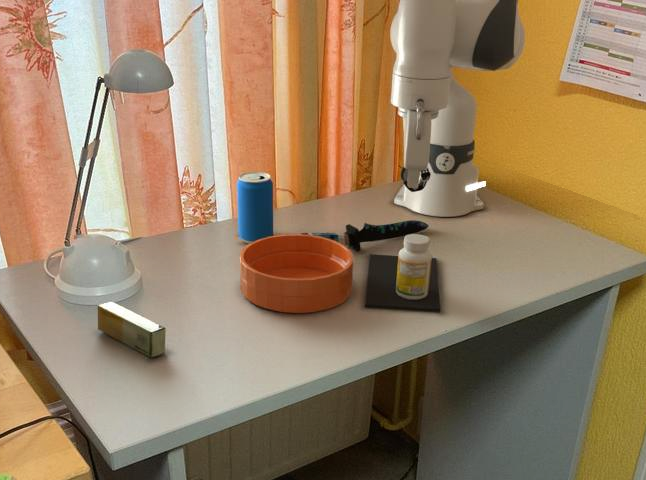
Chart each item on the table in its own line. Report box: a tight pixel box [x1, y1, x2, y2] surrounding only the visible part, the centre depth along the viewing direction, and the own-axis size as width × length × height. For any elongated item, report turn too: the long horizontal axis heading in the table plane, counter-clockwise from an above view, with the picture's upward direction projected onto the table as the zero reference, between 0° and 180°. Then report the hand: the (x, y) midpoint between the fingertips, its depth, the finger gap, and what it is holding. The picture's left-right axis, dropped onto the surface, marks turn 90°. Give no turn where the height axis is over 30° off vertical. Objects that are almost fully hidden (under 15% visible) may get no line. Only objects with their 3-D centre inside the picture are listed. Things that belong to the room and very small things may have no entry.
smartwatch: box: [400, 166, 431, 192], centre depth 129 cm, size 4×5×5 cm
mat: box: [364, 253, 442, 313], centre depth 135 cm, size 20×12×1 cm, turn 176°
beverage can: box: [236, 171, 274, 244], centre depth 145 cm, size 6×6×12 cm
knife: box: [300, 219, 429, 253], centre depth 147 cm, size 31×3×4 cm, turn 124°
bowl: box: [239, 233, 355, 314], centre depth 129 cm, size 18×18×6 cm
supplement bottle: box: [396, 233, 433, 300], centre depth 128 cm, size 5×5×10 cm
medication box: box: [97, 301, 167, 359], centre depth 113 cm, size 12×3×4 cm, turn 53°
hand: (412, 180), depth 129 cm, fingers closed on smartwatch, 5 cm apart
